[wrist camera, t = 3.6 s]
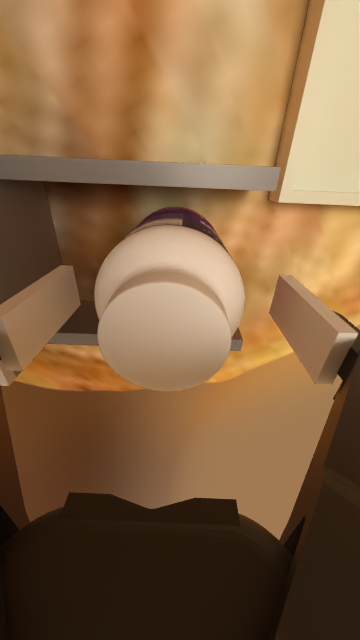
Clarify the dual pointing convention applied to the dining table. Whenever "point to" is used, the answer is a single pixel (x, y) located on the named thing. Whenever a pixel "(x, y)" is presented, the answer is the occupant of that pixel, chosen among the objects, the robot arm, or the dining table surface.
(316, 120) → the tray
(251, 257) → the dining table surface
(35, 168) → the bay
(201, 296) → the pill bottle
